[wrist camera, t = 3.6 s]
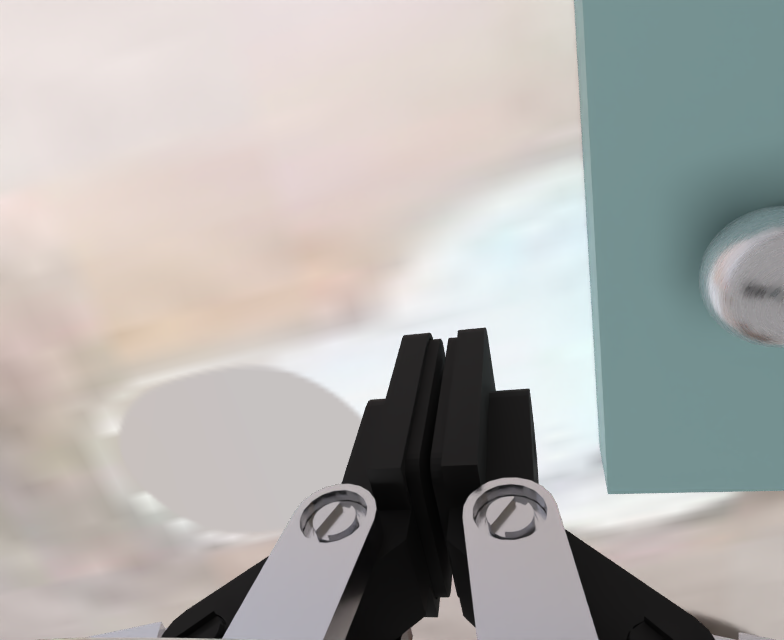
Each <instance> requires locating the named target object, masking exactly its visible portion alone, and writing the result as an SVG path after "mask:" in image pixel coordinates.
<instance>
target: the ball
mask: <svg viewBox="0 0 784 640" xmlns="http://www.w3.org/2000/svg"><path fill="white" fill-rule="evenodd" d="M699 289H700V294H701V297H702V300H703V302H704V305H705V307H706V309H707V311H708V312H709V314H710V315H711V316H712V318H713V319H714V320H715V321H716V322H717V324H718V325H720V326H721V327H722V328H723V329H724V330H726V331H727V332H728V333H730V334H731V335H733V336H735V337H737V338H739V339H741V340H743V341H746V342H748V343H751V344H755V345H760V346H765V347H775V348H781V347H784V206H774V207H767V208H762V209H759V210H755V211H752V212H750V213H747V214H745V215H743V216H741V217H739V218H737V219H735V220H734V221H733V222H731V223H730V224H728V225H727V226H726V227H724V228H723V229H722V230H721V231H720V232H719V233H718V234H717V235H716V236H715V237H714V239H713V240H712V241H711V243H710V244H709V246H708V247H707V249H706V251H705V253H704V256H703V258H702V261H701V265H700V269H699Z"/></svg>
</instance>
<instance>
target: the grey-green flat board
mask: <svg viewBox="0 0 784 640" xmlns="http://www.w3.org/2000/svg"><path fill="white" fill-rule="evenodd" d="M574 7H575V25H576V42H577V60H578V77H579V95H580V112H581V129H582V147H583V164H584V182H585V199H586V217H587V234H588V252H589V269H590V286H591V304H592V321H593V339H594V356H595V374H596V391H597V409H598V426H599V443H600V451H601V457H602V462H603V468H604V474H605V480H606V485H607V491H608V494H634V493H683V492H732V491H782V490H784V347H781V348H775V347H765V346H760V345H755V344H751V343H748V342H746V341H743V340H741V339H739V338H737V337H735V336H733V335H731V334H730V333H728V332H727V331H726V330H724V329H723V328H722V327H721V326H720V325H718V324H717V322H716V321H715V320H714V319H713V318H712V316H711V315H710V314H709V312H708V311H707V309H706V307H705V305H704V302H703V300H702V297H701V294H700V289H699V269H700V265H701V261H702V258H703V256H704V253H705V251H706V249H707V247H708V246H709V244H710V243H711V241H712V240H713V239H714V237H715V236H716V235H717V234H718V233H719V232H720V231H721V230H722V229H723V228H724V227H726V226H727V225H728V224H730V223H731V222H733V221H734V220H735V219H737V218H739V217H741V216H743V215H745V214H747V213H750V212H752V211H755V210H759V209H762V208H767V207H774V206H784V0H574Z"/></svg>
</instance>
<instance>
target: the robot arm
mask: <svg viewBox="0 0 784 640" xmlns="http://www.w3.org/2000/svg"><path fill="white" fill-rule="evenodd" d="M452 574H453V578H454V583H455V587H456V592H457V596H458V597H459V598H460V603H461V607H462V612H463V616H464V617H465V618H466V619H467V620H468V621H469V622H470V623H471V624H472V625H473V626H474V627H475V628H476V634H477V640H735V639H730V638H726V637H721V636H716V635H712V634H711V632H710V631H709V630H708V629H707V628H706V627H705V626H704V625H703V624H701V623H700V622H699V621H698V620H697V619H696V618H695V617H693V616H692V615H690V614H689V613H687V612H686V611H684V610H683V609H681V608H680V607H679V606H677V605H676V604H674V603H673V602H671V601H670V600H668V599H667V598H665V597H664V596H662V595H661V594H659V593H658V592H656V591H655V590H654V589H652V588H651V587H649V586H648V585H646V584H645V583H643V582H642V581H640V580H639V579H637V578H636V577H634V576H633V575H632V574H630V573H629V572H627V571H626V570H624V569H623V568H621V567H620V566H618V565H617V564H615V563H614V562H612V561H611V560H609V559H608V558H607V557H605V556H604V555H602V554H601V553H599V552H598V551H596V550H595V549H593V548H592V547H590V546H589V545H587V544H586V543H584V542H583V541H582V540H580V539H579V538H577V537H576V536H574V535H573V534H571V533H570V532H568V531H567V530H565V529H564V526H563V522H562V519H561V516H560V512H559V509H558V506H557V503H556V501H555V500H554V498H553V496H552V494H551V493H550V492H549V491H547V490H546V489H545V488H544V487H543V486H542V485H539V482H538V467H537V453H536V442H535V432H534V422H533V413H532V405H531V397H530V390H529V389H517V390H503V391H496V389H495V383H494V376H493V369H492V362H491V355H490V349H489V342H488V335H487V330H486V328H477V329H466V330H458V335H457V337H456V338H449V339H448V345H447V351H446V357H445V352H444V347H443V342H442V340H441V339H434V340H433V338H432V335H431V333H423V334H413V335H404V336H403V338H402V341H401V345H400V349H399V352H398V356H397V359H396V363H395V367H394V370H393V374H392V378H391V381H390V385H389V388H388V392H387V396H386V399H374V400H370V401H368V403H367V405H366V408H365V411H364V414H363V418H362V421H361V424H360V427H359V430H358V433H357V437H356V440H355V443H354V446H353V449H352V453H351V456H350V459H349V462H348V465H347V468H346V471H345V475H344V478H343V481H342V484H336V485H332V486H328V487H325V488H322V489H320V490H318V491H317V492H314V493H313V494H311V495H310V496H309V497H307V498H306V499H305V500H304V501H302V502H301V504H300V505H299V506H298V508H297V509H296V510H295V512H294V513H293V515H292V517H291V518H290V521H289V522H288V524H287V526H286V527H285V529H284V531H283V533H282V534H281V536H280V538H279V540H278V541H277V543H276V545H275V547H274V548H273V550H272V552H271V554H270V555H269V556H268V557H267V558H265V559H264V560H262V561H261V562H259V563H258V564H256V565H254V566H253V567H251V568H250V569H248V570H247V571H245V572H244V573H242V574H241V575H239V576H238V577H236V578H235V579H233V580H232V581H230V582H229V583H227V584H226V585H224V586H223V587H221V588H220V589H218V590H217V591H215V592H214V593H212V594H210V595H209V596H207V597H206V598H204V599H203V600H201V601H200V602H198V603H197V604H195V605H194V606H192V607H191V608H189V609H188V610H186V611H185V612H184V613H183V614H181V615H180V616H179V617H178V618H176V619H175V620H174V621H173V622H172V623H171V624H170V626H169V627H168V628H165V627H164V626H163V624H162V622H158V623H153V624H148V625H143V626H139V627H134V628H129V629H124V630H119V631H115V632H110V633H105V634H100V635H96V636H91V637H86V638H61V639H39V640H412V637H413V635H412V630H411V627H412V626H413V625H415V624H416V623H417V622H418V621H420V620H421V619H422V618H423V617H438V612H439V602H440V597H450V593H451V583H452ZM738 640H774V639H770V638H765V637H760V636H755V635H751V634H746V633H741V632H739V633H738Z"/></svg>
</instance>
